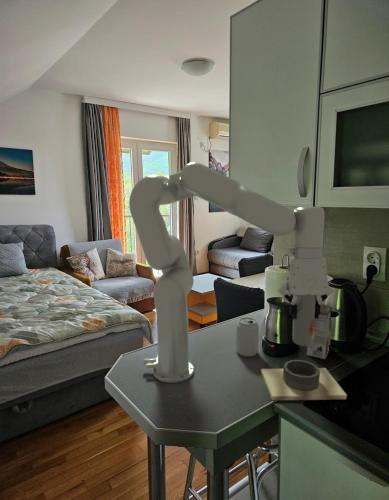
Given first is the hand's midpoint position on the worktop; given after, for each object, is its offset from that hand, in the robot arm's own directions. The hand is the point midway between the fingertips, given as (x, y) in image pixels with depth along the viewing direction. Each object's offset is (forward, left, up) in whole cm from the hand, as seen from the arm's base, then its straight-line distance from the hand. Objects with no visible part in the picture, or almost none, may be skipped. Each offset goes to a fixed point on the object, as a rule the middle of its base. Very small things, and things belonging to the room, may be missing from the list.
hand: (304, 316), depth 91 cm
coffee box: (+13, +20, -21) cm, 32 cm away
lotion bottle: (0, 0, -8) cm, 8 cm away
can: (-12, +20, -21) cm, 31 cm away
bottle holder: (0, 0, -21) cm, 21 cm away
